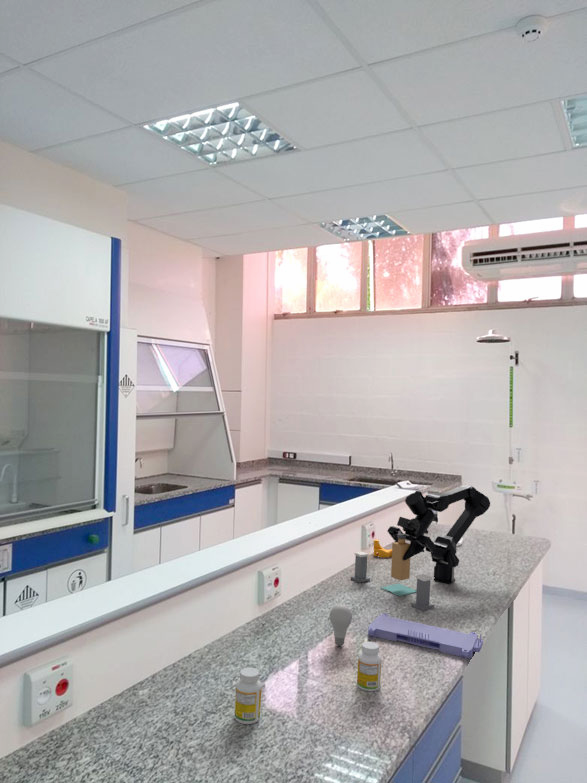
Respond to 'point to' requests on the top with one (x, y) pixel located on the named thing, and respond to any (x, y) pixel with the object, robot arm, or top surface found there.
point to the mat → (399, 589)
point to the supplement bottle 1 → (248, 696)
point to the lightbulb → (340, 622)
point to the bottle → (400, 559)
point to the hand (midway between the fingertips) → (398, 558)
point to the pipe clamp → (381, 550)
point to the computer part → (426, 636)
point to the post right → (360, 567)
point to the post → (423, 593)
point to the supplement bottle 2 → (369, 667)
